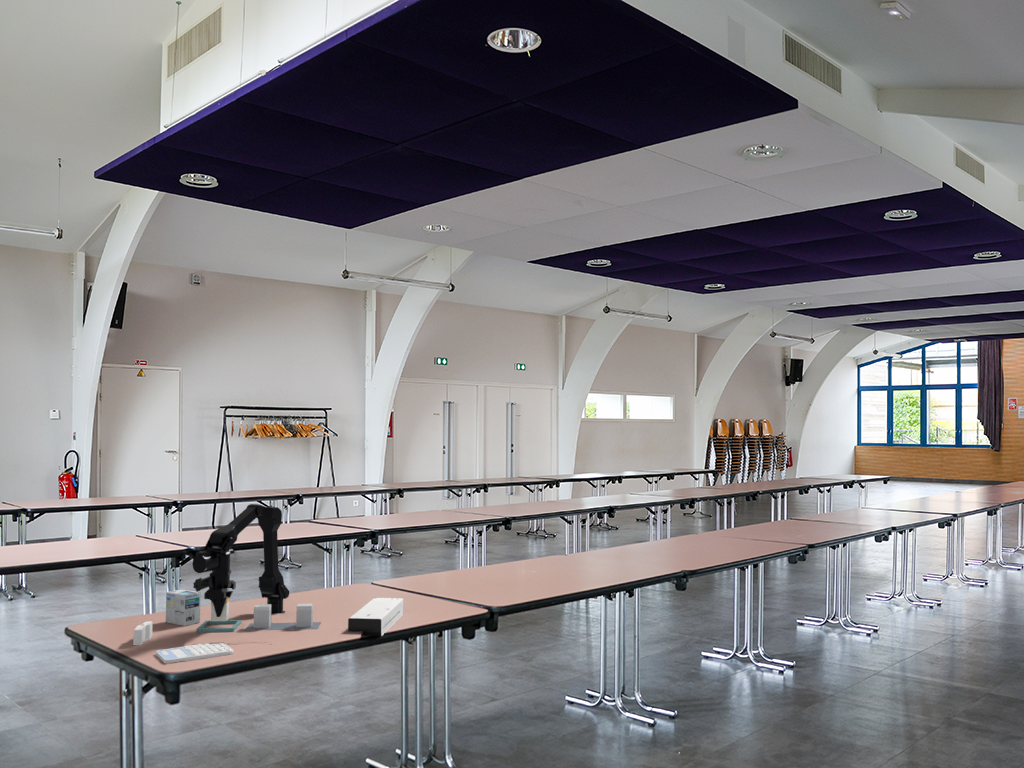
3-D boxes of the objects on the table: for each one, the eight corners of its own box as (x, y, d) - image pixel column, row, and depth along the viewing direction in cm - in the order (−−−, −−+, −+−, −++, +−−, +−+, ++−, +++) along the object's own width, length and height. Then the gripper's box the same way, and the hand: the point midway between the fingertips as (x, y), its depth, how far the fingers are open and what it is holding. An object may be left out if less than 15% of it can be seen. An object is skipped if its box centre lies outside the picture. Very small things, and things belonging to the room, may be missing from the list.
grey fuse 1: (255, 625, 282) (256, 604, 282) (270, 625, 282) (271, 604, 283) (253, 628, 278) (253, 607, 278) (268, 627, 278) (269, 606, 279)
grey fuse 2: (297, 624, 283) (298, 603, 284) (312, 624, 284) (313, 603, 284) (296, 627, 279) (296, 606, 280) (311, 627, 280) (311, 606, 280)
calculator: (234, 655, 252) (234, 649, 252) (164, 665, 240) (165, 659, 240) (221, 646, 263) (222, 640, 263) (154, 655, 251) (154, 649, 251)
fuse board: (249, 627, 284) (250, 623, 285) (321, 626, 287) (321, 622, 287) (243, 635, 275) (243, 630, 275) (317, 633, 277) (317, 628, 277)
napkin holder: (138, 649, 258) (138, 630, 258) (112, 645, 263) (113, 627, 263) (176, 638, 271) (176, 621, 272) (151, 635, 276) (151, 617, 276)
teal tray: (205, 628, 284) (205, 620, 284) (241, 627, 285) (241, 619, 285) (196, 636, 272) (196, 629, 272) (233, 636, 273) (234, 628, 273)
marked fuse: (213, 618, 280) (214, 597, 281) (228, 618, 281) (229, 597, 281) (210, 621, 277) (211, 600, 277) (226, 621, 277) (226, 599, 277)
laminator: (381, 638, 273) (381, 619, 274) (344, 637, 274) (344, 618, 275) (403, 615, 307) (403, 598, 307) (371, 614, 308) (371, 597, 308)
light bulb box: (200, 622, 292) (201, 591, 292) (184, 626, 286) (185, 595, 287) (180, 619, 297) (181, 588, 298) (164, 622, 291) (165, 591, 292)
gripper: (203, 564, 288) (202, 609, 287) (188, 573, 270) (187, 622, 269) (236, 563, 289) (235, 609, 288) (224, 573, 271) (222, 621, 270)
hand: (220, 615), depth 279 cm, fingers closed on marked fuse, 4 cm apart
